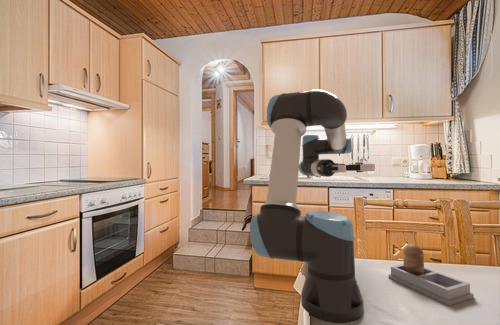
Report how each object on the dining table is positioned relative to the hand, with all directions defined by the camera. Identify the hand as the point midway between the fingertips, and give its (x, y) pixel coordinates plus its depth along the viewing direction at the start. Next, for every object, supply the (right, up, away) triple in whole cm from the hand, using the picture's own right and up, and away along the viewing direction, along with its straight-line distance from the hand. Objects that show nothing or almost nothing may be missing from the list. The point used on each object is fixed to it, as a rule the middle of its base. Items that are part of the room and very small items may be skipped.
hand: (360, 168), depth 96 cm
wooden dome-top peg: (+9, -33, -17) cm, 38 cm away
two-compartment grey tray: (+11, -34, -21) cm, 41 cm away
